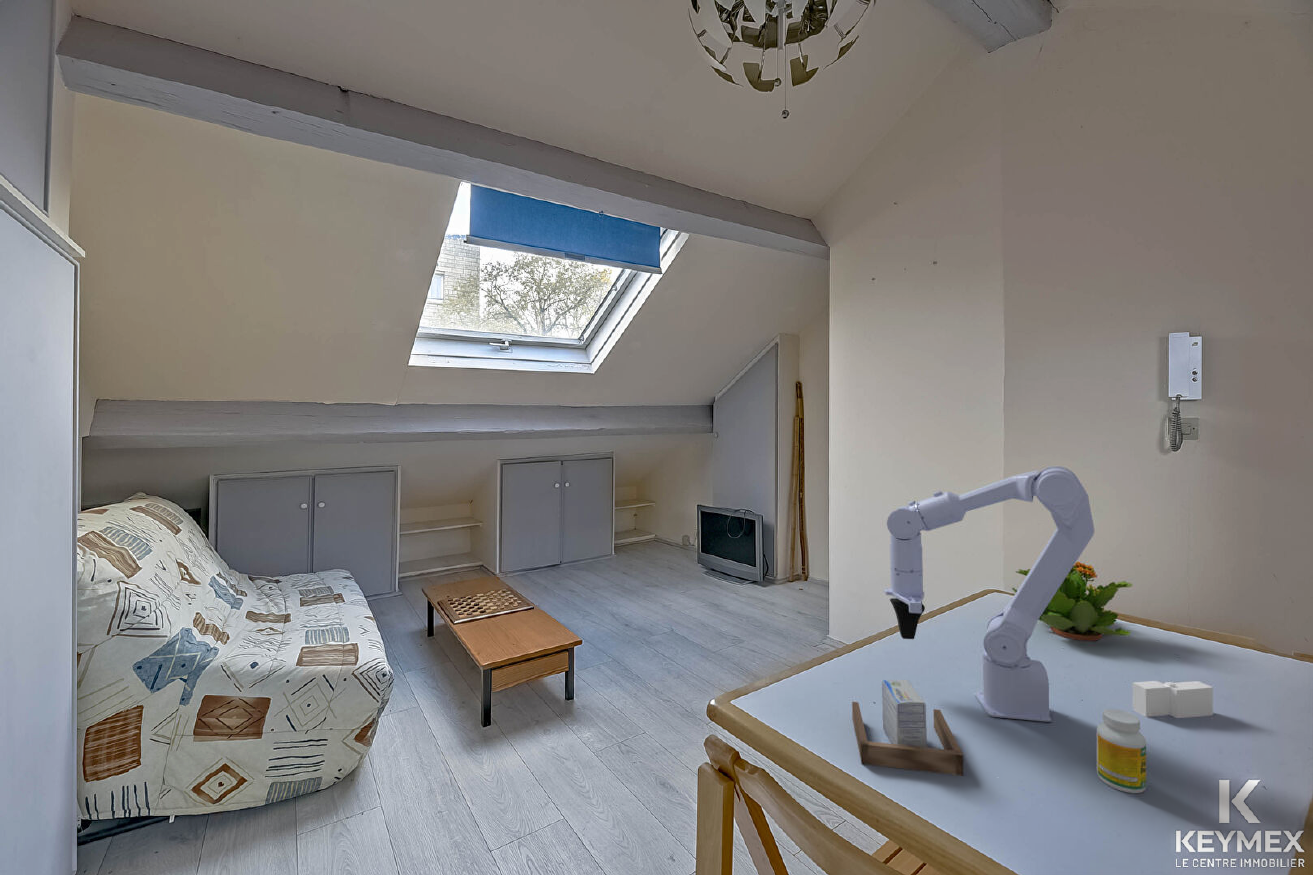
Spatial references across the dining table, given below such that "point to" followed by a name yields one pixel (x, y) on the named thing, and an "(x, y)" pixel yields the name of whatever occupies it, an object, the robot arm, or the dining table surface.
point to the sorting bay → (911, 749)
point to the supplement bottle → (1121, 751)
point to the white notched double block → (1173, 699)
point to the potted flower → (1081, 606)
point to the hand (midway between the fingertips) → (907, 637)
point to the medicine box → (903, 714)
